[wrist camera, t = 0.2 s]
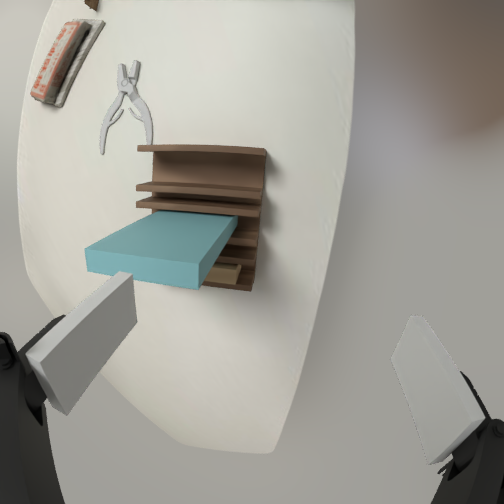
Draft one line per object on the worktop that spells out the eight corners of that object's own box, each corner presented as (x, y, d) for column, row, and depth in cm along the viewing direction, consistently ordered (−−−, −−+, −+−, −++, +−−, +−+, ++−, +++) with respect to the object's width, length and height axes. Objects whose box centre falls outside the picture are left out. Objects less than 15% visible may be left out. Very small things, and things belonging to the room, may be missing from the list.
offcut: (208, 250, 40) (197, 265, 34) (242, 254, 39) (236, 270, 34) (207, 263, 40) (197, 279, 35) (241, 266, 40) (235, 284, 34)
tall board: (170, 205, 38) (84, 248, 19) (238, 210, 37) (198, 263, 19) (170, 218, 39) (87, 271, 20) (237, 224, 38) (198, 289, 19)
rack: (156, 146, 36) (137, 145, 31) (266, 150, 35) (264, 148, 30) (156, 268, 43) (140, 283, 37) (254, 280, 42) (250, 299, 36)
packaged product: (46, 106, 31) (22, 96, 30) (63, 108, 35) (38, 98, 34) (93, 13, 25) (63, 13, 24) (107, 22, 29) (77, 20, 28)
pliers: (96, 154, 36) (102, 68, 31) (101, 154, 38) (107, 70, 33) (148, 148, 35) (155, 55, 30) (153, 148, 37) (159, 58, 32)
